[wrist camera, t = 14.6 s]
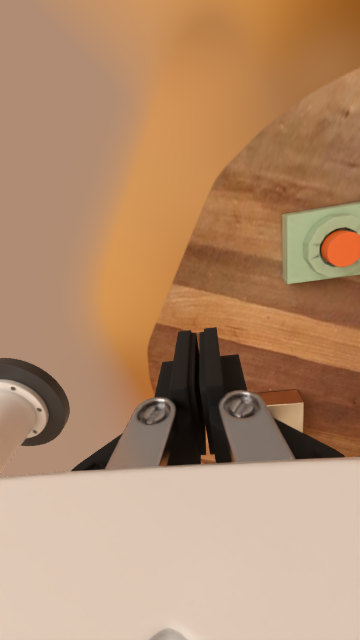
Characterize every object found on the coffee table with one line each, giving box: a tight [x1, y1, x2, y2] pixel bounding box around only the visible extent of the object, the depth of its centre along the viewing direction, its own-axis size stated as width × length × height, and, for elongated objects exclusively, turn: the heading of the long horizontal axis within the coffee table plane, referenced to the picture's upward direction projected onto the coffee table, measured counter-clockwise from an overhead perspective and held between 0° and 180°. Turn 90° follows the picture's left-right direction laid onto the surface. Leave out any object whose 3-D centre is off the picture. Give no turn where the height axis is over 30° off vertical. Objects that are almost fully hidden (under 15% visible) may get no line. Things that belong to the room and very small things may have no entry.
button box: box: [282, 202, 360, 284], centre depth 32 cm, size 10×8×4 cm
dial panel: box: [256, 390, 304, 433], centre depth 44 cm, size 12×10×3 cm
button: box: [321, 230, 360, 267], centre depth 29 cm, size 4×4×2 cm
